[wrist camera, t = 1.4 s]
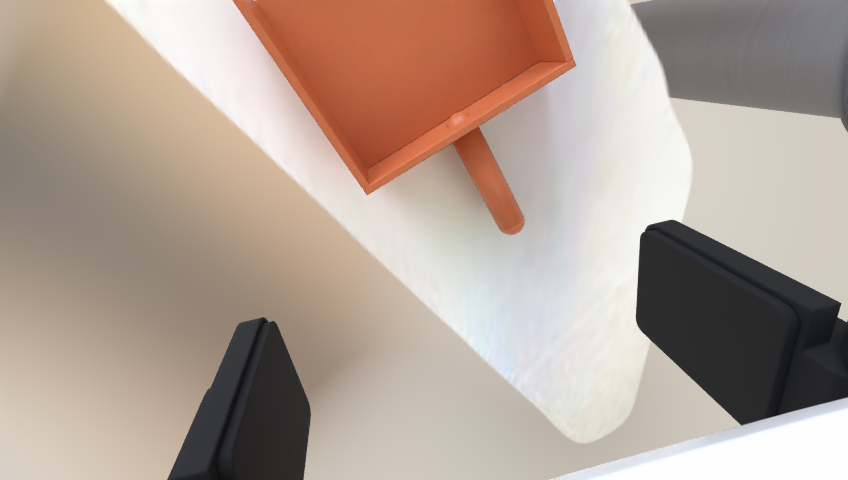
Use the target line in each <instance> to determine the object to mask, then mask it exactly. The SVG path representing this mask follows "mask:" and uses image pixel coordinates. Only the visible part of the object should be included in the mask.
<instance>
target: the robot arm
mask: <svg viewBox="0 0 848 480" xmlns="http://www.w3.org/2000/svg"><path fill="white" fill-rule="evenodd" d="M840 306H841V303H840V302H838V301H836V300H834V299H832V298H830V297H828V296H826V295H824V294H822V293H820V292H818V291H816V290H814V289H812V288H810V287H808V286H806V285H803V284H802V283H800V282H798V281H796V280H794V279H792V278H790V277H788V276H786V275H784V274H782V273H780V272H778V271H776V270H774V269H772V268H769V267H768V266H766V265H764V264H762V263H760V262H758V261H756V260H753V259H752V258H750V257H748V256H746V255H744V254H742V253H740V252H737V251H736V250H733V249H732V248H730V247H727V246H726V245H724V244H722V243H720V242H718V241H715V240H714V239H712V238H710V237H708V236H706V235H704V234H701V233H699V232H697V231H695V230H694V229H691V228H689V227H688V226H685V225H684V224H682V223H680V222H678V221H675V220H668V221H664V222H660V223H655V224H651V225H649V226H648V227H647V228H646V230H645V232H643V233H642V234H641V237H640V251H639V270H638V288H637V307H636V321H637V324H638V327H639V328H640V330H641V331H642V332H643V333H644V334H645V335H646V336H647V337H648V338H649V339H650V340H651V341H652V342H653V343H655V344H656V345H657V346H658V347H659V348H660V349H661V350H662V351H663V352H664V353H665V354H666V355H667V356H668V357H669V358H670V359H672V360H673V361H674V362H675V363H676V364H677V365H678V366H679V367H680V368H681V369H682V370H683V371H684V372H685V373H686V374H687V375H688V376H690V377H691V378H692V379H693V380H694V381H695V382H696V383H697V384H698V385H699V386H700V387H701V388H702V389H703V390H704V391H706V392H707V393H708V394H709V395H710V396H711V397H712V398H713V399H714V400H715V401H716V402H717V403H718V404H719V405H721V406H722V407H723V408H724V409H725V410H726V411H727V412H728V413H729V414H730V415H731V416H732V417H733V418H734V419H735V420H736V421H737V422H738V423H739V424H741V425H742V426H738V427H734V428H731V429H727V430H723V431H720V432H717V433H712V434H709V435H705V436H702V437H698V438H695V439H691V440H687V441H684V442H680V443H676V444H672V445H669V446H665V447H662V448H658V449H654V450H651V451H648V452H644V453H640V454H637V455H633V456H630V457H626V458H623V459H619V460H615V461H612V462H608V463H604V464H601V465H597V466H594V467H590V468H587V469H583V470H580V471H576V472H573V473H569V474H566V475H562V476H558V477H555V478H551V479H548V480H848V322H845V321H843V320H842V319H839V318H838V317H837V316H838V313H839V309H840ZM310 417H311V413H310V405H309V402H308V399H307V397H306V394H305V392H304V389H303V387H302V385H301V382H300V380H299V377H298V375H297V372H296V370H295V367H294V365H293V363H292V360H291V358H290V355H289V353H288V350H287V348H286V345H285V343H284V341H283V338H282V336H281V333H280V331H279V328H278V326H277V324H276V323H275V322H274V321H272V322H268V320H266V318H259V319H254V320H250V321H246V322H242V323H240V324H238V326H237V328H236V330H235V332H234V335H233V337H232V340H231V342H230V344H229V346H228V349H227V351H226V353H225V356H224V358H223V360H222V363H221V365H220V367H219V370H218V372H217V374H216V377H215V379H214V381H213V384H212V386H211V388H210V389H208V390H207V392H206V394H205V395H204V398H203V400H202V402H201V405H200V407H199V409H198V411H197V414H196V416H195V418H194V420H193V423H192V425H191V427H190V430H189V432H188V434H187V436H186V439H185V441H184V443H183V445H182V448H181V450H180V453H179V454H178V457H177V459H176V461H175V464H174V466H173V468H172V470H171V473H170V475H169V477H168V479H167V480H303V478H304V469H305V461H306V452H307V443H308V435H309V426H310Z"/></svg>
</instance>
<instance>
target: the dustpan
mask: <svg viewBox="0 0 848 480" xmlns="http://www.w3.org/2000/svg"><path fill="white" fill-rule="evenodd" d="M233 2H234V3H235V4H236V6H237V7H238V9H239V10H240V12H241V13H242V15H243V16H244V17H245V19H246V20H247V22H248V23H249V25H250V26H251V28H252V29H253V31H254V32H255V33H256V35H257V36H258V38H259V39H260V41H261V42H262V44H263V45H264V46H265V48H266V49H267V51H268V52H269V54H270V55H271V57H272V58H273V60H274V61H275V62H276V64H277V65H278V67H279V68H280V70H281V71H282V73H283V74H284V76H285V77H286V78H287V80H288V81H289V83H290V84H291V86H292V87H293V89H294V90H295V91H296V93H297V94H298V96H299V97H300V99H301V100H302V102H303V103H304V105H305V106H306V107H307V109H308V110H309V112H310V113H311V115H312V116H313V118H314V119H315V120H316V122H317V123H318V125H319V126H320V128H321V129H322V131H323V132H324V134H325V135H326V136H327V138H328V139H329V141H330V142H331V144H332V145H333V147H334V148H335V149H336V151H337V152H338V154H339V155H340V157H341V158H342V160H343V161H344V163H345V164H346V165H347V167H348V168H349V170H350V171H351V173H352V174H353V176H354V177H355V179H356V180H357V181H358V183H359V184H360V186H361V187H362V188H363V190H364V192H365V193H366V194H367V195H368V194H370V193H372V192H373V191H375V190H376V189H378V188H380V187H381V186H383V185H385V184H386V183H388V182H389V181H391V180H393V179H394V178H396V177H397V176H399V175H401V174H402V173H404V172H406V171H407V170H409V169H410V168H412V167H414V166H415V165H417V164H418V163H420V162H422V161H423V160H425V159H426V158H428V157H430V156H431V155H433V154H435V153H436V152H438V151H439V150H441V149H443V148H444V147H446V146H447V145H449V144H451V143H453V144H454V146H455V148H456V150H457V152H458V154H459V155H460V157H461V159H462V161H463V163H464V165H465V166H466V168H467V170H468V172H469V174H470V176H471V178H472V179H473V181H474V183H475V185H476V187H477V189H478V190H479V192H480V194H481V196H482V198H483V200H484V201H485V203H486V205H487V207H488V209H489V211H490V213H491V214H492V216H493V218H494V220H495V222H496V224H497V225H498V227H499V229H500V230H501V231H502V232H503V233H505V234H509V235H513V234H516V233H518V232H520V231H521V230H522V228H523V226H524V222H525V221H524V216H523V214H522V212H521V210H520V208H519V206H518V204H517V202H516V200H515V198H514V196H513V194H512V192H511V190H510V188H509V186H508V184H507V182H506V180H505V178H504V176H503V174H502V172H501V170H500V168H499V166H498V164H497V162H496V160H495V158H494V156H493V154H492V152H491V150H490V148H489V146H488V144H487V142H486V140H485V138H484V136H483V134H482V132H481V130H480V128H479V126H480V125H481V124H483V123H485V122H486V121H488V120H489V119H491V118H493V117H494V116H496V115H497V114H499V113H501V112H502V111H504V110H506V109H507V108H509V107H510V106H512V105H514V104H515V103H517V102H518V101H520V100H522V99H523V98H525V97H527V96H528V95H530V94H531V93H533V92H535V91H536V90H538V89H539V88H541V87H543V86H544V85H546V84H547V83H549V82H551V81H552V80H554V79H556V78H557V77H559V76H560V75H562V74H564V73H565V72H567V71H568V70H570V69H572V68H573V67H575V66H576V64H575V61H574V59H573V56H572V53H571V50H570V47H569V44H568V42H567V39H566V36H565V33H564V31H563V28H562V25H561V22H560V20H559V17H558V14H557V11H556V8H555V6H554V3H553V0H255V1H254V0H233ZM538 62H539V63H538ZM536 63H537V64H536ZM533 65H534V66H533ZM530 67H531V68H530ZM528 68H529V69H528ZM525 70H526V71H525ZM522 72H523V73H522ZM520 73H521V74H520ZM517 75H518V76H517ZM514 77H515V78H514ZM512 78H513V79H512ZM509 80H510V81H509ZM506 82H507V83H506ZM504 83H505V84H504ZM501 85H502V86H501ZM498 87H499V88H498ZM496 88H497V89H496ZM493 90H494V91H493ZM490 92H491V93H490ZM488 93H489V94H488ZM485 95H486V96H485ZM482 97H483V98H482ZM480 98H481V99H480ZM477 100H478V101H477ZM474 102H475V103H474ZM472 103H473V104H472ZM471 104H472V105H471ZM469 105H470V106H469ZM466 107H467V108H466ZM464 108H465V109H464ZM463 109H464V110H463ZM461 110H462V111H461ZM448 118H449V119H448ZM447 119H448V120H447ZM445 120H446V121H445ZM442 122H443V123H442ZM440 123H441V124H440ZM439 124H440V125H439ZM437 125H438V126H437ZM434 127H435V128H434ZM432 128H433V129H432ZM431 129H432V130H431ZM429 130H430V131H429ZM426 132H427V133H426ZM424 133H425V134H424ZM423 134H424V135H423ZM421 135H422V136H421ZM418 137H419V138H418ZM415 139H416V140H415ZM413 140H414V141H413ZM410 142H411V143H410ZM407 144H408V145H407ZM405 145H406V146H405ZM402 147H403V148H402ZM399 149H400V150H399ZM397 150H398V151H397ZM394 152H395V153H394ZM391 154H392V155H391ZM389 155H390V156H389ZM386 157H387V158H386ZM383 159H384V160H383ZM381 160H382V161H381ZM378 162H379V163H378ZM375 164H376V165H375ZM373 165H374V166H373ZM370 167H371V168H370ZM367 169H368V170H367Z"/></svg>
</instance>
